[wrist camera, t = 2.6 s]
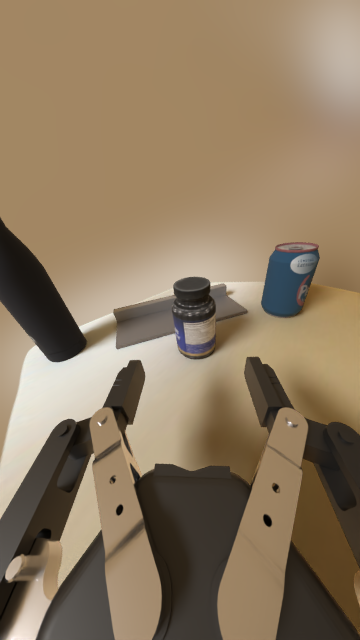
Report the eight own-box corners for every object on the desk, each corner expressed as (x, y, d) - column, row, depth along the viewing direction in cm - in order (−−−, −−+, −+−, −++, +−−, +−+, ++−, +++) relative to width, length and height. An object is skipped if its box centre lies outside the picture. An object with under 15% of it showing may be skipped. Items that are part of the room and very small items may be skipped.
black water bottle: (92, 336, 32) (-35, 101, 16) (75, 360, 27) (-144, 45, 10) (62, 339, 33) (-93, 113, 16) (39, 363, 27) (-227, 64, 11)
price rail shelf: (222, 294, 41) (222, 283, 39) (246, 312, 33) (248, 299, 31) (118, 320, 36) (113, 308, 35) (117, 349, 28) (110, 336, 27)
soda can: (303, 322, 28) (330, 250, 22) (259, 317, 31) (272, 251, 24) (297, 303, 34) (317, 240, 27) (260, 300, 36) (270, 242, 30)
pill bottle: (178, 336, 29) (169, 277, 23) (212, 333, 29) (211, 272, 23) (177, 362, 24) (165, 295, 18) (218, 359, 24) (220, 290, 18)
